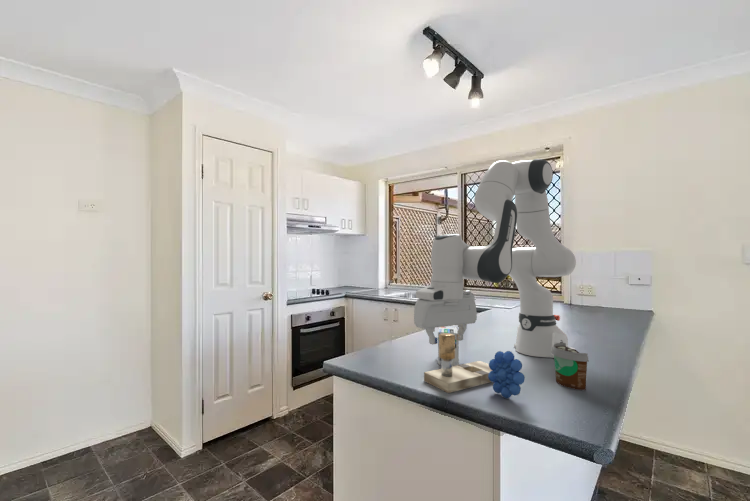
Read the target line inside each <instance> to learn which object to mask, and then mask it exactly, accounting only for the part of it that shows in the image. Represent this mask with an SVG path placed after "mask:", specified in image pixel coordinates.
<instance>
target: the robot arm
mask: <svg viewBox="0 0 750 501" xmlns="http://www.w3.org/2000/svg"><path fill="white" fill-rule="evenodd" d="M553 176H554V172H553V167H552V165H551V163H550V162H548V161H547V159H543V158H534V159H529V160H518V161H514V162H510V161H508V160H497V161H496V162H495V161H494V162H493V163H492V164H491V165H490V166H489V167H488V169H487V170H486V172H485V173H484V175H483V177H482V178H481V181H480V183H479V184H478V187H477V190H476V192H475V195H474V197H473V198H474V200H473V202H474V206H475V209H476V210H477V212H478V213H479V214H480V215H481V216H483V217H484V218H485V219H488V220H490V221H493V222H496V223H495V224H496V225H495V230H494V234H493V239H492V241H491V243H489V244H488V245H484V246H472V245H469V244H467V243H466V242H465V241H464V240H463V239H462V235H461V234H459V233H447V234H440V235H436V237H434V239H433V241H432V245H431V246H432V247H431V258H430V259H431V260H430V262H431V263H430V265H431V272H432V274H431V279H430V284H428V285H427V286H425V287H422V288H420V289H417V290H416V291H415V297H416V299H417V300H416V302H415V303H414V309H413V323H414V325H415V327H416V328H419V329H421V330H423V329H424V330H425V331H426V332H425V333H426V335H427V336H428V339H429V340H428V341H429V342H428V343H429V344H430V345H438V336H435V334H434V333H435V331H436V328H439V327H454V326H457V328H458V332H457V333H456V334H455V339H456V340H458V341H459V342H460V341H463V340H464V334H465V332H466V330H467V325H470V324H471V325H472V324H476V321H477V318H478V313H477V304H476V301H475V294H474V293H473V292H472V291H470V290H466V291H465V290H464V280H471V281H483V282H487V283H488V282H489V283H494V284H498V283H501V282H503V281H504V280H505V279H506V278H507V277H510V278H511V279H512V280H513V281H514V283H515V285H516V288H517V289H518V295H519V303H520V304H519V307H520V309H519V313H518V322H519V325H518V326H517V331H516V341H515V343H514V344H513V348H515V351H516V352H517V353H520V354H521V355H526V356H531V357H537V358H552V359H553V358H554V355H553V354H552V353H551V351H552V347H553V345H554V344H557V343H566V347H568V348H571V349H575V348H574V347H572V346H570V345H569V339H568V335H567V334H566V333H565V332H564V331H563V330H562V329H561V328H559V326H558V325H557V321H560V319H561V316H560V314H554V295H553V294H552V291H551V290H550V289H548V288H546V287H545V286H543V285H541V284H539V283H538V281H537V277H539V278H542V277H543V278H544V277H545V278H558V277H567V276H569V275H571V274H572V273H573V272H574V270H575V268H576V265H577V259H576V255H575V254H574V252H573V251H572V250H571V249H570V248H568V247H566V246H565V245H563V244H562V243H561V242H560V241H559V240H558V239H557V237H556V236H555V234H554V232H553V230H552V225H551V219H550V218H551V217H550V207H549V200H548V194H547V191H546V190H548V189H549V187H550V186H551V184H552V181H553ZM514 196H515V197H514ZM513 198H514V202H513ZM516 232H517V233H518V234H519V236H521V237H523V238H525V239H527V240H529V241H530V242H532V244H533V245H534V246H525V247H523V246H521V247H514V241H515V236H516V235H515V234H516Z"/></svg>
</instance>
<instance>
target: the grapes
mask: <svg viewBox="0 0 750 501" xmlns="http://www.w3.org/2000/svg"><path fill="white" fill-rule="evenodd" d="M488 364H489V367H490V369H491V370H493V371H490V372H489V374H488V378H489V380H490V381H491V382H490V383H493V384H492V389H493V391H494V392H495V393H496V394H500V396H502V398H504V399H510V398H511V397H512V396H519V395H520V392H521V390H522V389H521V386H520V385H522V384H524V382H525V380H526V379H525V378H526V377H525V375H524V374H523V373H522V372H521V370H522V368H523V364H522V361H520V360H519V359H517V358H515V354H514V353H513V352H512V351H510V350H507V351H505V352H503V351H501V350H499V351H497V352H496V353H494V356H493V358H492V359H490V361H489V363H488Z"/></svg>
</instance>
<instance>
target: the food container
mask: <svg viewBox="0 0 750 501" xmlns="http://www.w3.org/2000/svg"><path fill="white" fill-rule="evenodd" d="M551 353H552V354H553V355H554V359H553V360H554V372H555V381H556V383H557V384H558V385H560V386H562V387H563V388H564V387H565V388H568V389H571V390H578V391H586V390H587V371H588V362H589V356H588V353H587V352H585V353H584V352H580V351H578V350H576V348H574V349H571V348H568V347H566V343H557V344H554V345H553V347H552V351H551Z"/></svg>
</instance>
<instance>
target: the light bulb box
mask: <svg viewBox="0 0 750 501" xmlns="http://www.w3.org/2000/svg"><path fill="white" fill-rule="evenodd" d="M437 328H438V329H437V338H438V340H437V342H438V343H437V351H438V352H437V358H438V359H437V360H438V361H437V364H438V365H439V366H441V358H440V357H439V334H443V333H448V334H454V335H455V334H456V333H457V332H458V329H459V327H458V326H457V327H456V326H455V327H454V326H445V327H437ZM459 342H460V341H458V340H456V339H455V358H454V359H453V362H452V366H457V365H460V362H459V360H460V358H459V357H460V356H459V354H460V353H459V351H460V349H459V348H460V347H459V346H460V345H459V344H460V343H459Z"/></svg>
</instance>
